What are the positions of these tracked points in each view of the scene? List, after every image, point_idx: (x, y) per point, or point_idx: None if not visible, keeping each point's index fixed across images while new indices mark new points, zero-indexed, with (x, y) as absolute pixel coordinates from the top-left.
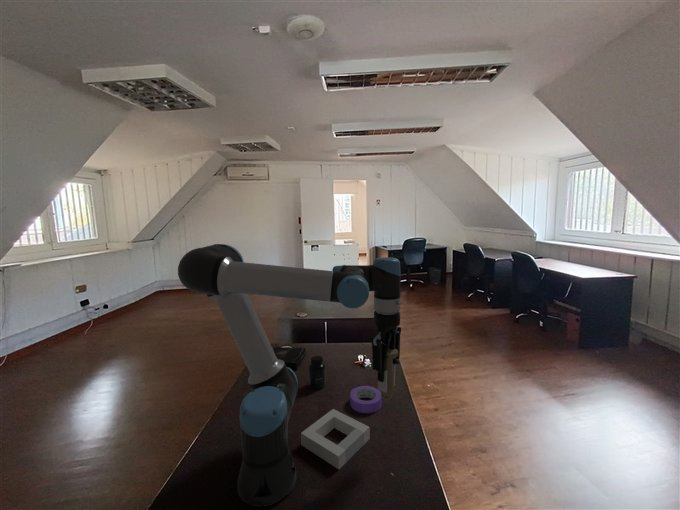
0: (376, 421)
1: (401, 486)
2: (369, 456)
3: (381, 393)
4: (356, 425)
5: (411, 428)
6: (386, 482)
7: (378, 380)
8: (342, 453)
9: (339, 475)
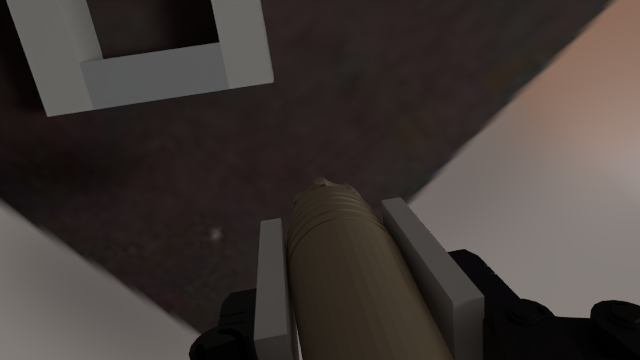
0: (375, 23)
1: (203, 277)
2: (208, 139)
3: (293, 211)
4: (234, 30)
5: (433, 152)
6: (177, 243)
7: (228, 303)
8: (74, 112)
9: (63, 127)
